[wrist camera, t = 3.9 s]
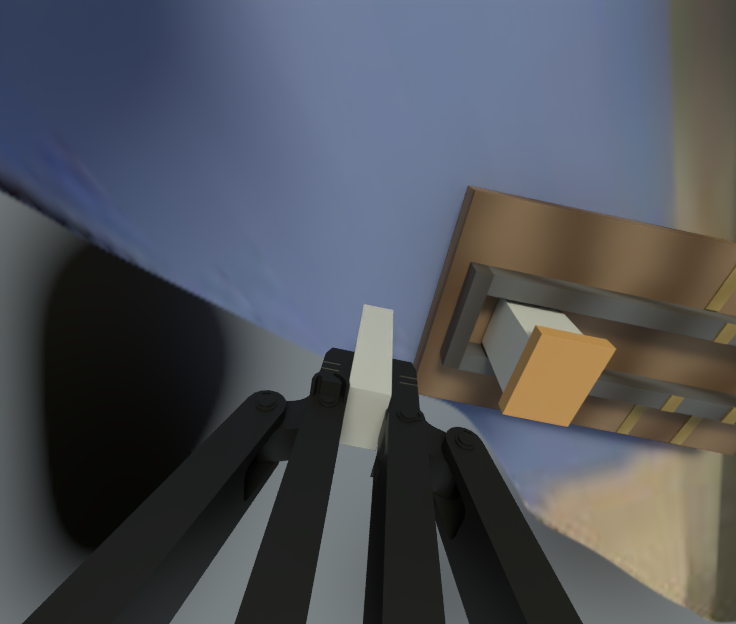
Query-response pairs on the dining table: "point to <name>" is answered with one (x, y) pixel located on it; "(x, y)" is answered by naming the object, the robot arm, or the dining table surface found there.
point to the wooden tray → (594, 314)
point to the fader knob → (542, 361)
